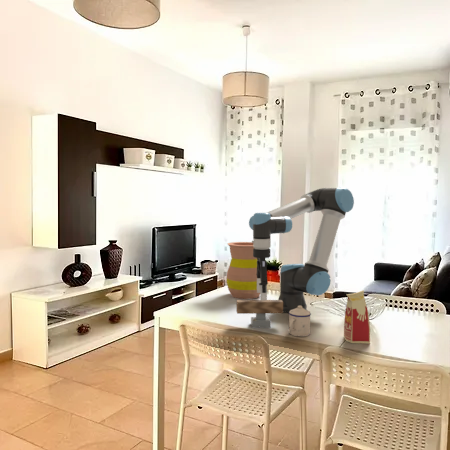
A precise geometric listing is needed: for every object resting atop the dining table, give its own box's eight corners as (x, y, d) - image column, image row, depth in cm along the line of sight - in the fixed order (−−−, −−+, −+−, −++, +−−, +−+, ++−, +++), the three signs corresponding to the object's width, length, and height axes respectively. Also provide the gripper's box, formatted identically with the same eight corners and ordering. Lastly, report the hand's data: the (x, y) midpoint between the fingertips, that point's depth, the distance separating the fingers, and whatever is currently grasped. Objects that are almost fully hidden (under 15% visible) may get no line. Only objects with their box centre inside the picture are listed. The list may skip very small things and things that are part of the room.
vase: (221, 292, 255) (222, 242, 253) (256, 290, 262) (256, 241, 260) (233, 301, 234) (233, 246, 232) (270, 299, 241) (271, 245, 239)
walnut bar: (281, 310, 192) (281, 299, 192) (282, 313, 188) (283, 302, 188) (236, 311, 191) (236, 300, 191) (237, 313, 187) (237, 302, 187)
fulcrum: (268, 323, 193) (268, 310, 193) (270, 327, 187) (270, 314, 187) (250, 323, 193) (251, 310, 193) (252, 327, 187) (252, 314, 187)
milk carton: (363, 336, 177) (364, 287, 176) (371, 343, 168) (373, 292, 167) (341, 336, 177) (342, 287, 176) (348, 343, 168) (349, 292, 167)
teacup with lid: (295, 328, 186) (296, 302, 186) (314, 333, 180) (315, 305, 180) (280, 335, 177) (280, 307, 176) (299, 340, 171) (300, 311, 171)
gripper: (250, 244, 200) (250, 289, 202) (256, 252, 176) (256, 303, 177) (266, 244, 201) (266, 289, 202) (274, 251, 176) (274, 303, 177)
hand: (261, 296), depth 190 cm, fingers open, 13 cm apart
